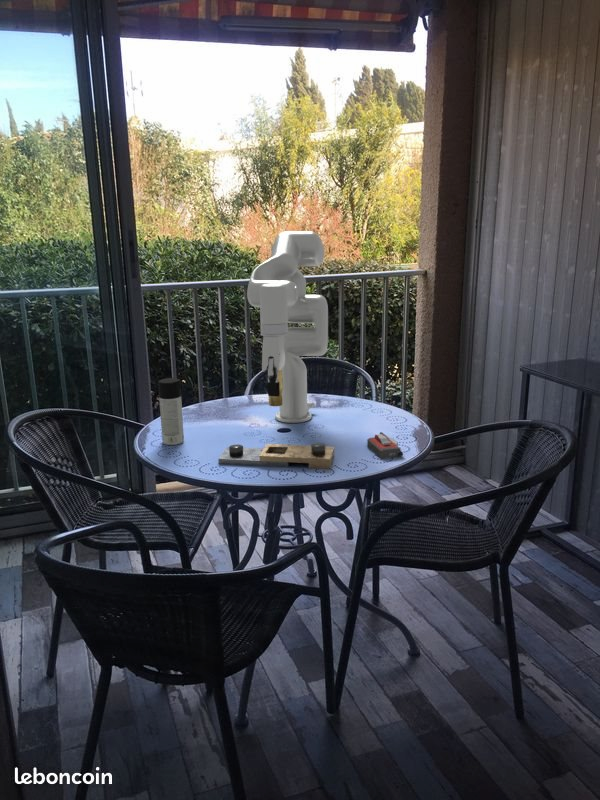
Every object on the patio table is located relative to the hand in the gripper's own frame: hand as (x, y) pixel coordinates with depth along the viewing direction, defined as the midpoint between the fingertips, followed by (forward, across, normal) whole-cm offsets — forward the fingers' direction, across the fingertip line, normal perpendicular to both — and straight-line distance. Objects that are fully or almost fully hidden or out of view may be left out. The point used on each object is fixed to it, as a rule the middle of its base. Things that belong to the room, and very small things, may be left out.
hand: (275, 393), depth 187 cm
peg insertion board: (+20, 0, 0) cm, 20 cm away
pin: (+3, 0, 0) cm, 3 cm away
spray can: (+20, -11, -35) cm, 42 cm away
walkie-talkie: (+20, -14, +30) cm, 39 cm away
